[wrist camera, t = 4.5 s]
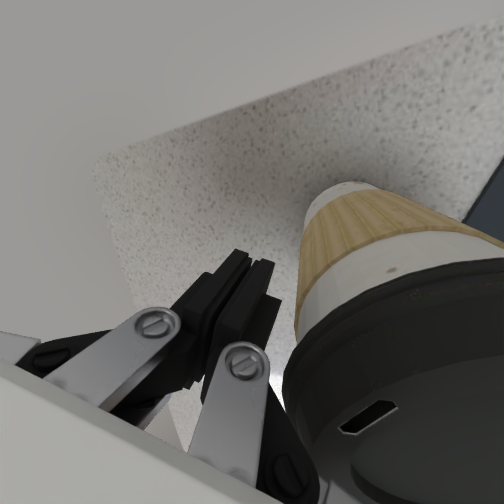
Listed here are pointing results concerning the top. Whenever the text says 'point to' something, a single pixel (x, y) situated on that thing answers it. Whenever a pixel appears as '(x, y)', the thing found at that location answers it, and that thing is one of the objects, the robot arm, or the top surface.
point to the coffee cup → (398, 351)
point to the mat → (490, 208)
